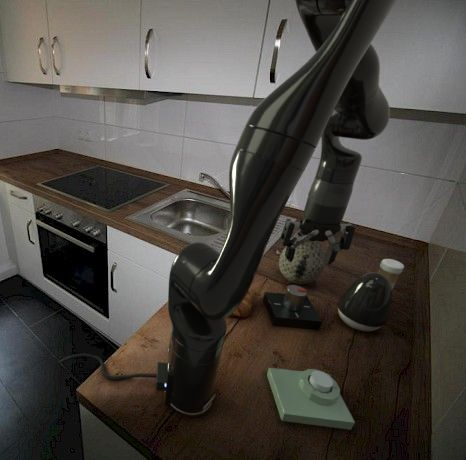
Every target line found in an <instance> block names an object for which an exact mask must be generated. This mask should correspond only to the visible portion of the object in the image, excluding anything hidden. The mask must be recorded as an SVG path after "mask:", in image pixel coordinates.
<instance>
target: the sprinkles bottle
mask: <svg viewBox="0 0 466 460" xmlns="http://www.w3.org/2000/svg"><path fill="white" fill-rule="evenodd" d="M404 268H405V265H404V264H403V263H402V262H401V261H398V260H396V259H392V258H384V259H382V260H381V262H380V264H379V269H378V271H377V273H380V274H382V275H384V276H385V277H386V278H387V279H388V280H389V282H390V285H391V289H392V290H393V289H394V287H395V285H396V283H397V281H398V278H399V277H400V275H401V274H402V273H403V271H404Z"/></svg>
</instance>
